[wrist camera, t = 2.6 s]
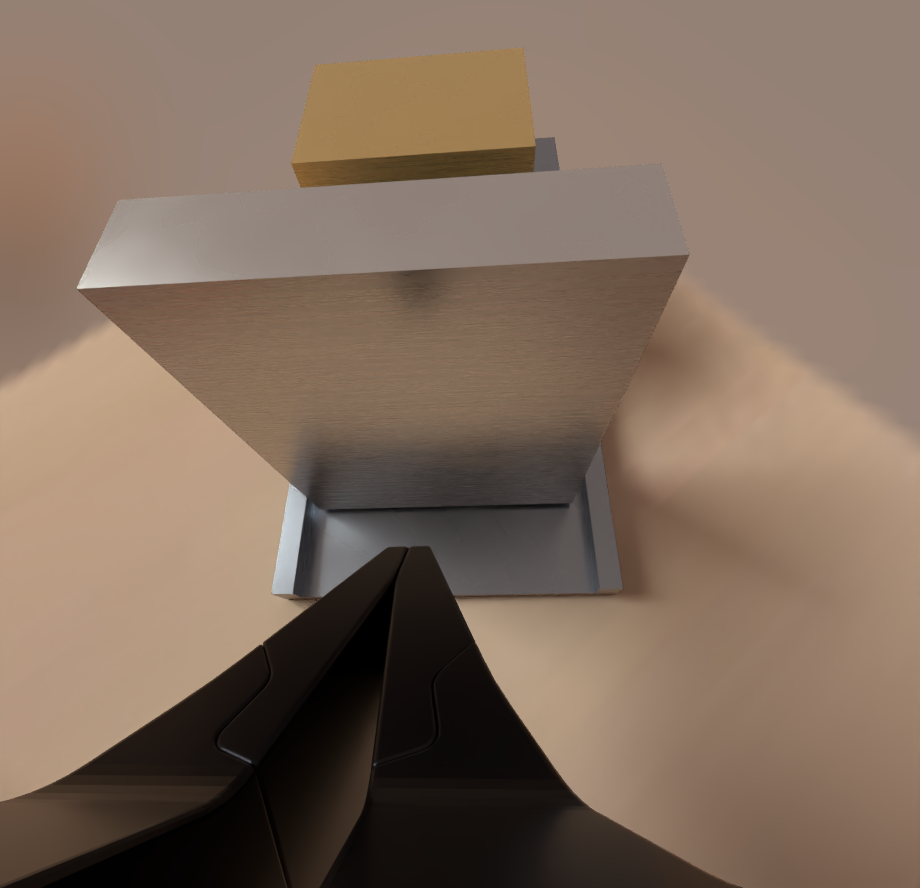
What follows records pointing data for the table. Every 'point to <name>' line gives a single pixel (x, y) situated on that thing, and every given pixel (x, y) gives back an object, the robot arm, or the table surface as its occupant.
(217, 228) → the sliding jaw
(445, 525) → the vise
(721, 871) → the table surface
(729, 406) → the table surface
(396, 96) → the brass block
